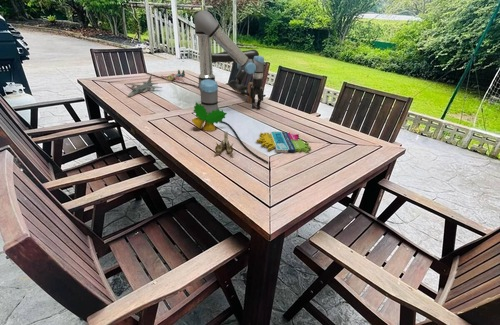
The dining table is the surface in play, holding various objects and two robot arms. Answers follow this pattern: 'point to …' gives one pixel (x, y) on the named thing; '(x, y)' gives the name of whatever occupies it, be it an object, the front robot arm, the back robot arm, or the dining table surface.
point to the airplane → (143, 87)
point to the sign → (283, 142)
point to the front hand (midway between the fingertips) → (255, 108)
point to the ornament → (207, 117)
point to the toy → (174, 76)
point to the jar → (249, 92)
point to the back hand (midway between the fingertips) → (251, 94)
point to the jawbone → (224, 145)
